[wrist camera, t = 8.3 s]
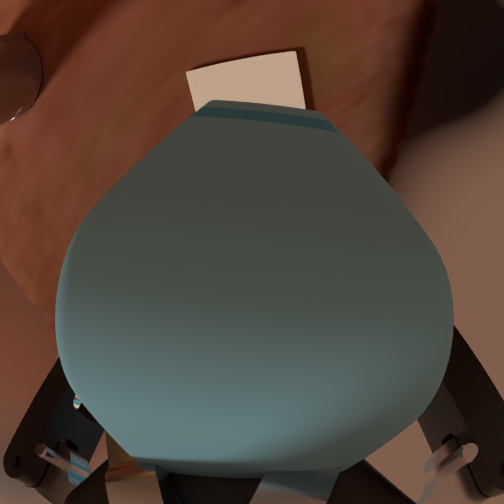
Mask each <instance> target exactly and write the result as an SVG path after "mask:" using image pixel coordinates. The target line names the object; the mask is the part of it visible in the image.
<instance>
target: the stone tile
mask: <svg viewBox="0 0 504 504" xmlns="http://www.w3.org/2000/svg"><path fill="white" fill-rule="evenodd" d="M186 75H187V79H188V83H189V87H190V91H191V95H192V99H193V103H194V107H195V111H198V110H199V109H200V108H201V107H203V106H204V105H205V104H207V103H208V102H209V101H211V100H227V101H240V102H252V103H262V104H271V105H279V106H287V107H294V108H301V109H306V108H305V102H304V95H303V89H302V83H301V77H300V72H299V66H298V61H297V55H296V51H291V52H283V53H275V54H268V55H262V56H256V57H250V58H245V59H239V60H234V61H229V62H225V63H220V64H216V65H212V66H207V67H203V68H199V69H195V70H192V71H188V72H186Z"/></svg>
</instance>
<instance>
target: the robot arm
mask: <svg viewBox="0 0 504 504" xmlns="http://www.w3.org/2000/svg"><path fill="white" fill-rule="evenodd" d="M41 78H42V66H41V60H40V56H39V53H38V51H37V49H36V48H35V47H34V45H33V44H32V43H30V42H29V41H27V40H26V38H25V34H24V32H21V33H11V34H3V35H0V125H2V124H4V123H7V122H9V121H11V120H13V119H14V118H16V117H19V116H21V115H23V114H24V113H25V112H26V111H28V110H29V108H30V107H31V106H32V105H33V103H34V101H35V99H36V97H37V95H38V92H39V89H40V84H41ZM75 396H76V394H75V393H74V391H73V389H72V388H71V386H70V384H69V382H68V380H67V378H66V376H65V373H64V370H63V367H62V364H61V360H60V357H59V358H58V359H57V361H56V363H55V364H54V366H53V367H52V369H51V371H50V372H49V374H48V375H47V377H46V379H45V380H44V382H43V384H42V385H41V387H40V389H39V391H38V392H37V394H36V396H35V397H34V399H33V401H32V403H31V405H30V406H29V408H28V410H27V412H26V414H25V416H24V417H23V419H22V421H21V423H20V425H19V427H18V428H17V431H16V433H15V434H14V436H13V438H12V440H11V442H10V444H9V446H8V448H7V451H6V453H5V455H4V460H3V465H4V469H5V472H6V473H7V475H8V476H9V477H11V478H13V479H14V480H16V481H19V482H20V483H22V484H24V485H25V486H27V487H29V488H32V489H33V490H36V491H38V492H39V493H40V494H41V495H43V496H44V497H45V498H46V499H47V500H49V501H50V502H51V503H52V504H481V503H483V502H484V501H485V500H488V499H491V498H493V497H496V496H499V495H501V494H504V401H503V399H502V397H501V395H500V394H499V392H498V390H497V389H496V387H495V386H494V384H493V382H492V381H491V379H490V377H489V376H488V374H487V373H486V371H485V369H484V368H483V366H482V365H481V363H480V362H479V360H478V359H477V357H476V356H475V354H474V353H473V351H472V350H471V349H470V347H469V345H468V344H467V342H466V341H465V340H464V338H463V337H462V335H461V334H460V333H459V331H458V330H457V328H456V327H455V326H454V325H453V339H452V346H451V352H450V357H449V361H448V364H447V368H446V371H445V374H444V377H443V379H442V382H441V384H440V387H439V389H438V391H437V392H436V394H435V396H434V398H433V400H432V401H431V403H430V404H429V406H428V407H427V408H426V410H425V411H424V412H423V413H422V414H421V415H420V416H419V417H418V418H417V420H418V422H419V424H420V426H421V428H422V431H423V433H424V435H425V437H426V439H427V442H428V444H429V446H430V448H431V450H432V453H433V454H432V455H431V456H430V457H429V458H428V459H427V461H426V463H425V464H424V468H423V478H424V490H423V493H422V495H421V497H420V498H419V500H418V501H417V502H416V503H415V502H414V501H413V500H411V499H410V498H409V497H408V496H407V495H405V494H404V493H403V492H402V491H401V490H399V489H398V488H397V487H396V486H395V485H394V484H392V483H391V482H390V481H389V480H388V479H386V478H385V477H384V476H383V475H382V474H381V473H380V472H378V471H377V470H376V469H375V468H374V467H373V466H372V465H371V464H369V463H368V462H367V461H366V460H365V459H363V460H361V461H359V462H358V463H356V464H355V465H353V466H351V467H350V468H348V469H347V470H345V471H342V472H340V469H341V467H334V468H326V469H317V470H306V471H267V472H266V474H265V475H264V477H263V478H224V477H208V476H196V475H187V474H178V473H171V472H169V471H167V470H165V469H164V468H162V467H160V466H158V465H156V464H154V463H142V462H137V461H135V460H134V459H133V458H132V457H131V456H130V455H129V454H128V453H127V452H126V451H125V450H124V449H123V448H122V447H121V446H120V445H119V444H118V443H117V442H116V441H115V440H114V439H113V438H112V437H111V436H110V434H109V433H108V432H107V431H106V430H105V429H104V428H103V427H102V426H101V425H100V423H99V422H98V421H97V420H96V419H95V418H94V416H93V415H92V414H91V413H90V412H89V411H88V409H87V408H86V407H85V406H84V404H83V403H82V402H81V404H80V406H79V408H78V409H77V410H76V409H75V407H74V398H75ZM104 430H105V437H106V446H107V454H108V459H107V460H106V461H105V462H104V463H103V464H102V465H100V466H99V467H98V468H97V469H96V470H95V471H94V472H92V471H91V470H90V469H89V465H88V464H89V462H90V460H91V458H92V455H93V453H94V451H95V449H96V447H97V445H98V442H99V440H100V438H101V436H102V434H103V432H104Z"/></svg>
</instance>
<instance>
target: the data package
mask: <svg viewBox="0 0 504 504" xmlns="http://www.w3.org/2000/svg"><path fill="white" fill-rule="evenodd" d="M55 325H56V339H57V345H58V351H59V357H60V360H61V364H62V367H63V370H64V373H65V376H66V378H67V380H68V382H69V384H70V386H71V388H72V389H73V391H74V393H75V394H76V396H77V397H78V398H79V399H80V401H81V402H82V403H83V404H84V406H85V407H86V408H87V409H88V411H89V412H90V413H91V414H92V415H93V416H94V418H95V419H96V420H97V421H98V422H99V423H100V425H101V426H102V427H103V428H104V429H105V430H106V431H107V432H108V433H109V434H110V436H111V437H112V438H113V439H114V440H115V441H116V442H117V443H118V444H119V445H120V446H121V447H122V448H123V449H124V450H125V451H126V452H127V453H128V454H129V455H130V456H131V457H132V458H133V459H134V460H135V461H137V462H142V463H154V464H156V465H158V466H160V467H162V468H164V469H165V470H167V471H169V472H171V473H178V474H187V475H196V476H208V477H224V478H263V477H264V475H265V474H266V472H267V471H306V470H317V469H326V468H334V467H341V469H340V472H342V471H345V470H347V469H348V468H350V467H351V466H353V465H355V464H356V463H358V462H359V461H361V460H363V459H364V458H365V457H367V456H369V455H370V454H372V453H373V452H374V451H376V450H377V449H378V448H380V447H382V446H383V445H384V444H386V443H387V442H388V441H390V440H391V439H393V438H394V437H395V436H397V435H398V434H399V433H400V432H402V431H403V430H404V429H406V428H407V427H408V426H409V425H410V424H412V423H413V422H414V421H415V420H416V419H417V418H418V417H419V416H420V415H421V414H422V413H423V412H424V411H425V410H426V408H427V407H428V406H429V404H430V403H431V401H432V400H433V398H434V396H435V394H436V392H437V391H438V389H439V387H440V384H441V382H442V379H443V377H444V374H445V371H446V368H447V364H448V361H449V357H450V352H451V346H452V339H453V325H454V314H453V300H452V293H451V287H450V282H449V279H448V275H447V272H446V269H445V266H444V264H443V261H442V259H441V256H440V255H439V253H438V251H437V249H436V248H435V246H434V244H433V243H432V241H431V240H430V239H429V237H428V236H427V234H426V233H425V231H424V230H423V229H422V227H421V226H420V225H419V223H418V222H417V220H416V219H415V218H414V216H413V215H412V214H411V212H410V211H409V210H408V209H407V207H406V206H405V205H404V203H403V202H402V201H401V200H400V198H399V197H398V196H397V195H396V193H395V192H394V191H393V190H392V188H391V187H390V186H389V185H388V184H387V182H386V181H385V180H384V179H383V178H382V176H381V175H380V174H379V173H378V172H377V171H376V169H375V168H374V167H373V166H372V165H371V164H370V163H369V161H368V160H367V159H366V158H365V157H364V156H363V155H362V154H361V153H360V151H359V150H358V149H357V148H356V147H355V146H354V145H353V144H352V143H351V142H350V141H349V140H348V139H347V138H346V136H345V135H344V134H343V133H342V132H341V131H340V130H339V129H338V128H337V127H336V126H335V125H334V124H333V123H332V122H331V121H330V120H329V119H328V118H327V117H326V116H325V115H324V114H323V113H321V112H319V111H313V110H307V109H301V108H294V107H287V106H279V105H271V104H262V103H252V102H240V101H227V100H211V101H209V102H208V103H207V104H205V105H204V106H203V107H201V108H200V109H199V110H198V111H196V112H195V113H194V114H193V115H191V116H190V117H189V118H188V119H186V120H185V121H184V122H183V123H182V124H180V125H179V126H178V127H177V128H176V129H174V130H173V131H172V132H171V133H170V134H169V135H167V136H166V137H165V138H164V139H163V140H162V141H161V142H159V143H158V144H157V145H156V146H155V147H154V148H153V149H152V150H151V151H149V152H148V153H147V154H146V155H145V156H144V157H143V158H142V159H141V160H140V161H139V162H138V163H137V164H136V165H134V166H133V167H132V168H131V169H130V170H129V171H128V172H127V173H126V174H125V175H124V176H123V177H122V178H121V179H120V180H119V181H118V182H117V183H116V184H115V185H114V186H113V187H112V188H111V189H110V190H109V191H108V192H107V193H106V195H105V196H104V197H103V198H102V199H101V200H100V201H99V202H98V203H97V204H96V205H95V206H94V207H93V208H92V210H91V211H90V212H89V213H88V215H87V216H86V217H85V218H84V220H83V221H82V223H81V225H80V226H79V228H78V230H77V231H76V233H75V235H74V237H73V239H72V241H71V244H70V246H69V248H68V251H67V254H66V257H65V260H64V263H63V266H62V270H61V275H60V279H59V284H58V291H57V299H56V317H55Z"/></svg>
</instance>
